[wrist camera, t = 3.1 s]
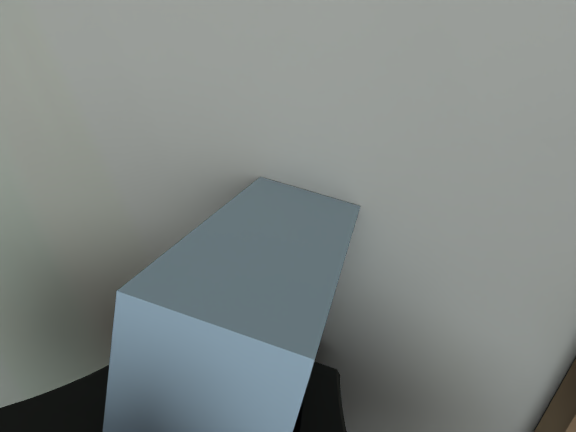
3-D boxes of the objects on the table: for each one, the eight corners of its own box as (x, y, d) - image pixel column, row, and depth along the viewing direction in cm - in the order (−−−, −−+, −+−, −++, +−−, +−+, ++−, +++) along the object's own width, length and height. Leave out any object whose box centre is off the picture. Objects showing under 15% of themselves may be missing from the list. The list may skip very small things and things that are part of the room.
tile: (278, 474, 14) (196, 747, 8) (203, 445, 14) (77, 688, 9) (359, 206, 11) (314, 359, 5) (260, 176, 11) (117, 291, 5)
